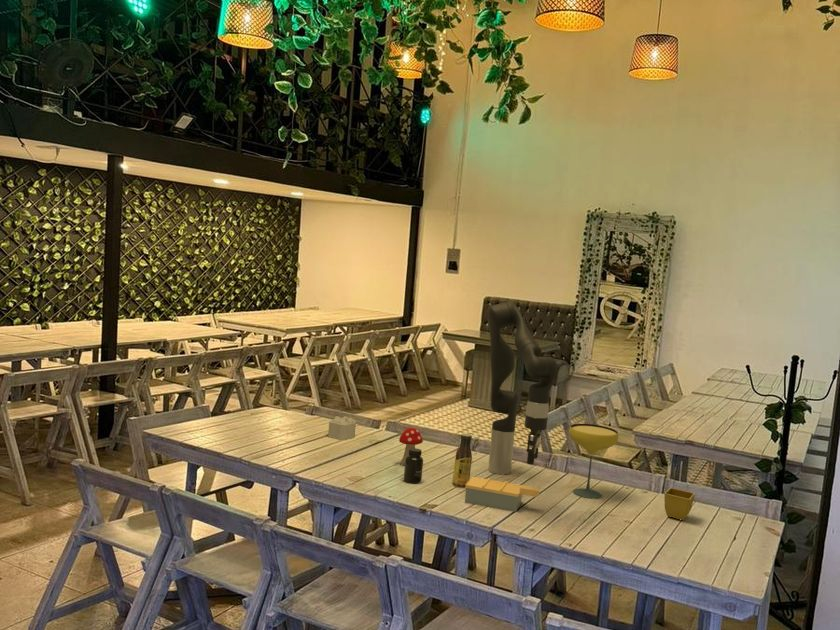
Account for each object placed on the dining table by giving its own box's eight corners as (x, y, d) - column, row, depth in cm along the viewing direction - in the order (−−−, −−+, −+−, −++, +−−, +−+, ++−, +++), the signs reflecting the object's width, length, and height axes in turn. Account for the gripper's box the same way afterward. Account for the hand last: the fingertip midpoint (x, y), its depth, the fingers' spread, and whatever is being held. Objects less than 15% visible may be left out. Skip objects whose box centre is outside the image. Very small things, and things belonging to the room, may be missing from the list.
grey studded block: (324, 436, 328) (326, 417, 327) (341, 431, 339) (343, 413, 339) (343, 441, 323) (345, 422, 322) (360, 436, 334) (361, 417, 334)
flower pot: (687, 524, 252) (690, 499, 251) (661, 517, 257) (664, 493, 256) (692, 517, 259) (695, 493, 259) (667, 511, 264) (670, 487, 263)
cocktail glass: (559, 495, 272) (565, 429, 270) (567, 483, 289) (574, 421, 287) (608, 505, 265) (615, 438, 263) (614, 492, 282) (621, 428, 280)
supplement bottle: (419, 484, 270) (422, 453, 269) (401, 482, 272) (404, 450, 271) (423, 479, 277) (425, 448, 276) (405, 477, 278) (408, 446, 277)
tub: (471, 496, 262) (472, 479, 262) (520, 505, 257) (522, 488, 257) (464, 504, 253) (466, 487, 252) (515, 513, 248) (517, 496, 247)
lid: (472, 479, 262) (472, 473, 262) (540, 491, 255) (541, 485, 255) (465, 487, 252) (465, 481, 252) (536, 500, 245) (536, 494, 245)
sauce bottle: (457, 490, 268) (462, 437, 266) (448, 485, 273) (453, 433, 272) (472, 489, 271) (477, 436, 269) (463, 483, 276) (468, 432, 275)
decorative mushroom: (413, 460, 302) (416, 424, 301) (424, 466, 295) (428, 429, 294) (392, 462, 296) (396, 426, 295) (404, 468, 289) (407, 431, 288)
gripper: (529, 409, 257) (524, 454, 258) (522, 416, 243) (517, 464, 244) (550, 412, 255) (545, 458, 256) (545, 420, 241) (540, 468, 242)
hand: (532, 461), depth 250 cm, fingers open, 8 cm apart
